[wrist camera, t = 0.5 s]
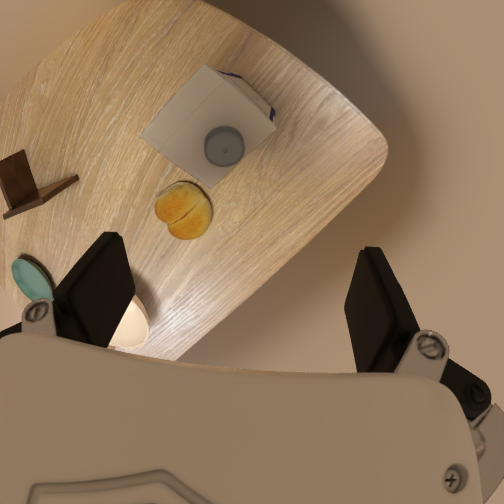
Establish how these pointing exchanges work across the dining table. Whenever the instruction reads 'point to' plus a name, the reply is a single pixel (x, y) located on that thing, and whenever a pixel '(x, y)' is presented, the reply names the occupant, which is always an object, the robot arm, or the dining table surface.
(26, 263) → the saucer
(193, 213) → the bread roll
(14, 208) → the shelf
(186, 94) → the milk carton
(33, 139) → the dining table surface
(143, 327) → the bowl
